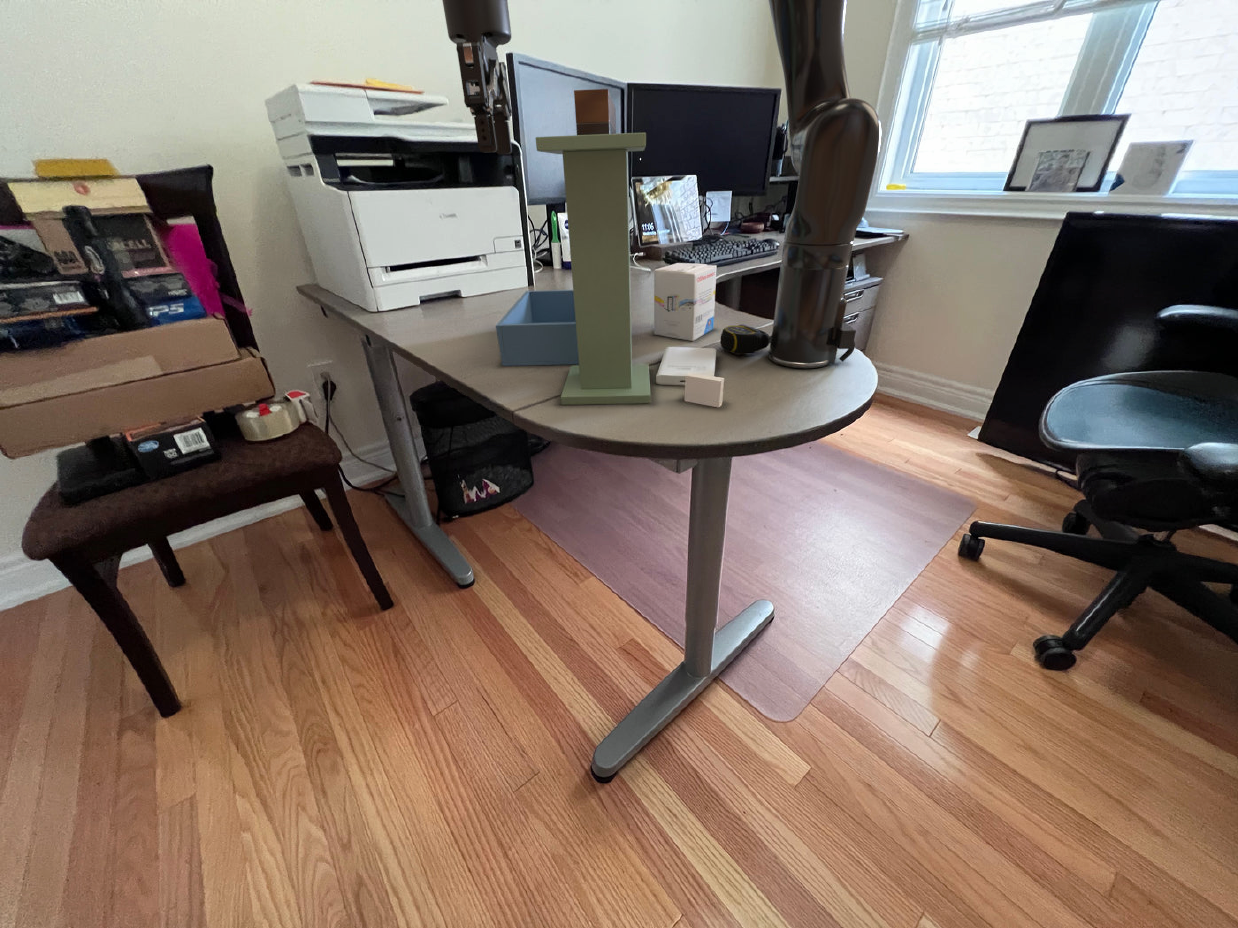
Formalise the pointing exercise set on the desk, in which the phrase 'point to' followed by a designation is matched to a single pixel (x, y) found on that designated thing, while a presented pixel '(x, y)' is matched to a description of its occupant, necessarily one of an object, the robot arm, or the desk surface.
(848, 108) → the robot arm
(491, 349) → the desk surface
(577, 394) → the stand
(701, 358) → the hard drive
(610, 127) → the block
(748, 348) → the tape measure
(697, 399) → the eraser
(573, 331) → the tray
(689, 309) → the ink box
